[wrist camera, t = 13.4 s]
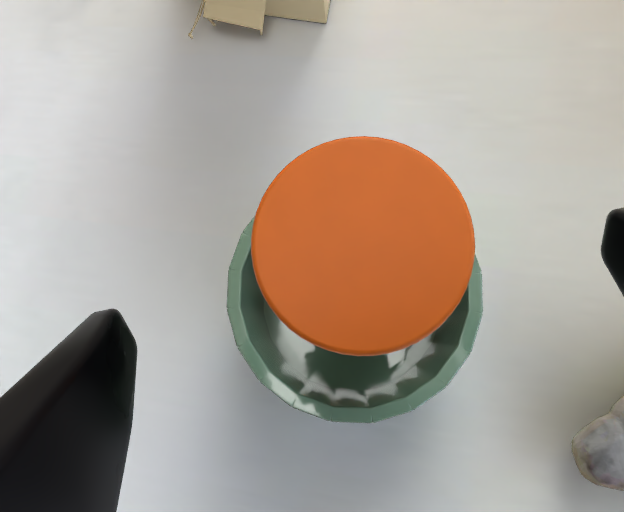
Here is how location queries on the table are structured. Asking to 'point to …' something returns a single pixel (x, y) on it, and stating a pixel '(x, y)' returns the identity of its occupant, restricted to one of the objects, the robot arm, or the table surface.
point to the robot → (262, 11)
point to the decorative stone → (602, 449)
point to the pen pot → (345, 368)
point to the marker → (362, 246)
